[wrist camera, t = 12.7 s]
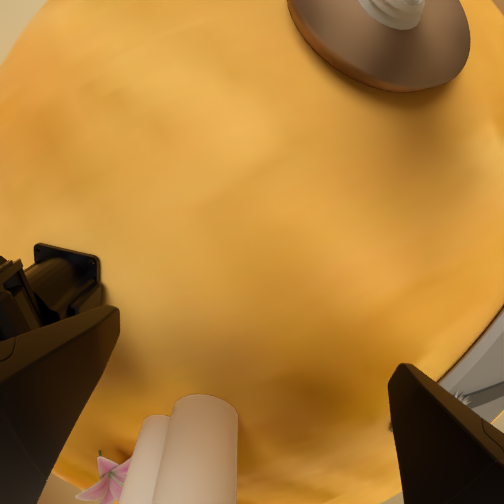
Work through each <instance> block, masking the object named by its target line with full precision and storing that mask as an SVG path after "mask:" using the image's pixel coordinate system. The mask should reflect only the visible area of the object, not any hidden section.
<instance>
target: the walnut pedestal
mask: <svg viewBox="0 0 504 504" xmlns="http://www.w3.org/2000/svg"><path fill="white" fill-rule="evenodd" d="M287 3H288V8H289V11H290V14H291V16H292V19H293V21H294V23H295V25H296V27H297V28H298V30H299V32H300V33H301V34H302V36H303V37H304V39H305V40H306V41H307V42H308V44H309V45H310V46H311V47H312V48H313V49H314V50H315V51H316V52H317V53H318V54H319V55H320V56H321V57H322V58H323V59H324V60H326V61H327V62H328V63H329V64H331V65H332V66H333V67H334V68H336V69H337V70H339V71H340V72H342V73H344V74H345V75H347V76H349V77H351V78H352V79H354V80H356V81H358V82H361V83H363V84H365V85H368V86H370V87H374V88H377V89H380V90H385V91H390V92H402V93H403V92H414V91H419V90H423V89H427V88H431V87H434V86H439V85H441V84H444V83H446V82H449V81H450V80H452V79H453V78H455V77H456V76H457V75H458V74H459V73H460V72H461V70H462V69H463V67H464V66H465V64H466V61H467V59H468V55H469V51H470V30H469V26H468V21H467V18H466V15H465V12H464V10H463V8H462V5H461V3H460V1H459V0H425V5H424V7H423V12H422V14H421V18H420V21H419V23H418V24H417V26H415V27H413V28H411V29H407V30H399V29H394V28H390V27H388V26H386V25H384V24H382V23H380V22H379V21H377V20H376V19H374V18H373V17H372V16H370V15H369V14H368V13H367V11H366V10H365V9H364V8H363V7H362V6H361V4H360V2H359V1H358V0H287Z"/></svg>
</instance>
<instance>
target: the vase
mask: <svg viewBox="0 0 504 504" xmlns="http://www.w3.org/2000/svg"><path fill="white" fill-rule="evenodd" d="M237 448H238V414H237V412H236V410H235V408H234V407H233V406H232V405H230V404H229V403H228V402H226V401H224V400H222V399H220V398H218V397H214V396H211V395H203V394H194V395H187V396H185V397H182V398H180V399H179V400H178V401H177V402H176V403H175V404H174V407H173V411H172V415H171V417H169V416H166V415H151V416H148V417H146V418H145V419H144V420H143V423H142V426H141V429H140V432H139V436H138V439H137V442H136V445H135V448H134V452H133V455H132V458H131V462H130V465H129V468H128V472H127V475H126V479H125V482H124V486H123V489H122V493H121V496H120V500H119V504H236V502H237Z"/></svg>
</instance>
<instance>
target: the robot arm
mask: <svg viewBox="0 0 504 504" xmlns="http://www.w3.org/2000/svg"><path fill="white" fill-rule="evenodd" d="M38 248H39V249H40V251H39V249H38ZM91 260H93V262H94V264H92V263H91ZM34 261H35V263H34V264H33V265H31V266H30V267H28V268H27V269H25V270H23V268H22V267H23V264H22V262H21V259H18V260H16V261H14V262H13V261H12V260H10V261H9V260H8V261H7V260H6V259H5V258H3V257H2V256H0V504H37V502H38V500H39V497H40V495H41V493H42V491H43V488H44V486H45V484H46V482H47V481H46V480H47V479H48V477H49V475H50V473H51V471H52V469H53V467H54V465H55V463H56V461H57V458H58V456H59V454H60V452H61V450H62V448H63V446H64V444H65V442H66V441H67V439H68V437H69V435H70V433H71V431H72V429H73V427H74V425H75V423H76V421H77V419H78V418H79V416H80V414H81V412H82V410H83V408H84V407H85V405H86V403H87V401H88V399H89V397H90V396H91V394H92V392H93V390H94V389H95V387H96V385H97V383H98V381H99V380H100V378H101V376H102V374H103V372H104V369H105V367H106V365H107V362H108V360H109V358H110V355H111V353H112V351H113V348H114V346H115V344H116V342H117V339H118V337H119V334H120V311H119V309H118V308H117V307H114V306H111V305H103V306H102V295H101V284H100V283H99V260H98V258H97V257H96V256H95V255H91V254H86V253H82V252H78V251H73V250H69V249H64V248H60V247H56V246H52V245H47V244H43V243H37V244H36V245H35V246H34ZM388 395H389V404H390V414H391V423H392V430H393V435H394V440H395V446H396V451H397V457H398V463H399V470H400V476H401V483H402V491H403V498H404V504H504V433H502V432H501V431H500V430H498V429H497V428H495V427H494V426H493V425H491V424H490V423H489V422H487V421H486V420H485V419H483V418H482V417H480V416H479V415H478V414H477V413H475V412H474V411H473V410H472V409H470V408H469V407H468V406H466V405H465V404H464V403H462V402H461V401H460V400H458V399H457V398H456V397H454V396H453V395H452V394H451V393H449V392H448V391H447V390H445V389H444V388H443V387H441V386H440V385H439V384H437V383H436V382H435V381H433V380H432V379H431V378H429V377H428V376H427V375H425V374H424V373H423V372H422V371H420V370H419V369H418V368H416V367H415V366H414V365H412V364H409V363H401V364H399V365H398V367H397V368H396V370H395V372H394V373H393V375H392V377H391V378H390V380H389V382H388Z"/></svg>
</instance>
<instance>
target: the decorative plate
mask: <svg viewBox="0 0 504 504" xmlns="http://www.w3.org/2000/svg"><path fill="white" fill-rule="evenodd" d="M437 384H439V385H440V386H441V387H443V388H444V389H445V390H447V391H448V392H449V393H451V394H452V395H453V396H454V397H456V398H457V399H458V400H460V401H461V402H462V403H464V404H465V405H466V406H468V407H469V408H470V409H472V410H473V411H474V412H475V413H477V414H478V415H479V416H480V417H482V418H483V419H485V420H486V421H487V422H489V423H491V422H492V421H493V420H494V419H495V418H496V417H497V416H498V415H499V414H500V413H501V412H502V411H503V410H504V307H503V308H502V310H501V311H500V312H499V314H498V315H497V316H496V318H495V319H494V320H493V322H492V323H491V324H490V325H489V327H488V328H487V329H486V330H485V332H484V333H483V334H482V335H481V336H480V338H479V339H478V340H477V341H476V342H475V343H474V345H473V346H472V347H471V348H470V349H469V350H468V351H467V352H466V354H465V355H464V356H463V357H462V358H461V359H460V360H459V361H458V362H457V363H456V364H455V365H454V366H453V367H452V368H451V369H450V370H449V371H448V372H447V373H446V374H445V375H444V376H443V377H442V378H441V379H440V380H439V381H438V382H437ZM390 431H391V432H393V430H392V426H391V430H390Z"/></svg>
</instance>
